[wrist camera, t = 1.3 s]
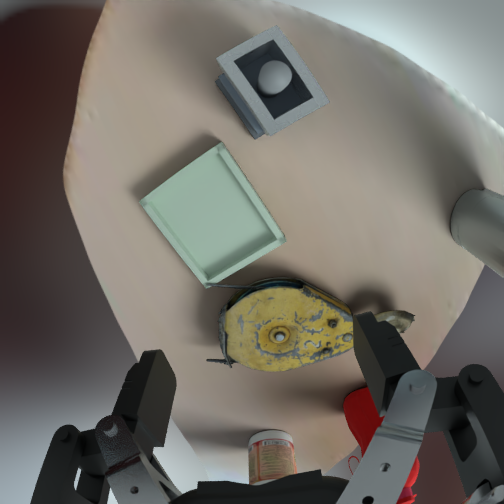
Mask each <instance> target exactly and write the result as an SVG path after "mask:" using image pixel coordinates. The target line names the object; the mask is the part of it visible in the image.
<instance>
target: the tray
mask: <svg viewBox="0 0 504 504" xmlns="http://www.w3.org/2000/svg"><path fill="white" fill-rule="evenodd" d="M139 202H140V204H141V205H142V207H143V208H144V209H145V211H146V212H147V213H148V215H149V216H150V217H151V219H152V220H153V221H154V223H155V224H156V225H157V227H158V228H159V229H160V231H161V232H162V233H163V234H164V236H165V237H166V238H167V240H168V241H169V242H170V244H171V245H172V246H173V247H174V249H175V250H176V251H177V253H178V254H179V255H180V256H181V258H182V259H183V260H184V261H185V263H186V264H187V265H188V267H189V268H190V269H191V270H192V272H193V273H194V274H195V275H196V276H197V278H198V279H199V280H200V281H201V283H202V284H203V285H204V286H205V288H206V289H207V288H209V287H211V286H207V285H208V284H216V283H218V282H219V281H221V280H223V279H224V278H226V277H228V276H229V275H231V274H233V273H234V272H236V271H238V270H239V269H241V268H243V267H245V266H246V265H248V264H250V263H251V262H253V261H255V260H256V259H258V258H260V257H261V256H263V255H265V254H266V253H268V252H270V251H271V250H273V249H275V248H276V247H278V246H280V245H282V244H283V243H285V242H287V241H286V238H285V235H284V234H283V232H282V231H281V229H280V228H279V226H278V225H277V223H276V221H275V220H274V218H273V217H272V215H271V214H270V212H269V211H268V209H267V208H266V206H265V205H264V203H263V202H262V200H261V199H260V197H259V196H258V194H257V192H256V191H255V189H254V188H253V186H252V185H251V183H250V182H249V180H248V179H247V177H246V176H245V175H244V173H243V172H242V170H241V169H240V167H239V166H238V164H237V163H236V161H235V160H234V158H233V157H232V155H231V154H230V152H229V151H228V149H227V148H226V147H225V145H224V144H223V142H221V143H219V144H218V145H216V146H215V147H213V148H212V149H210V150H209V151H207V152H206V153H204V154H203V155H201V156H200V157H198V158H197V159H196V160H194V161H193V162H191V163H190V164H189V165H187V166H186V167H184V168H183V169H182V170H180V171H179V172H177V173H176V174H175V175H173V176H172V177H171V178H169V179H168V180H167V181H165V182H164V183H163V184H161V185H160V186H159V187H157V188H156V189H155V190H153V191H152V192H151V193H149V194H148V195H147V196H146V197H144V198H143V199H142V200H140V201H139Z"/></svg>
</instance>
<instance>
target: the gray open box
mask: <svg viewBox="0 0 504 504" xmlns="http://www.w3.org/2000/svg"><path fill="white" fill-rule="evenodd" d="M268 53H269V54H270V56H271V57H272V58H273V60H274V61H281V62H283V63H285V64H286V65H287V66H288V67H289V68H290V70H291V73H292V78H291V81H290V84H291V86H292V87H293V89H294V90H295V92H296V93H297V95H298V96H299V98H300V99H301V101H302V103H300V104H298V105H296V106H295V107H293V108H291V109H289V110H288V111H286V112H284V113H282V114H281V115H279V116H277V117H276V118H274V119H273V117H272V116H271V114H270V113H269V111H268V110H267V108H266V107H265V105H264V104H263V102H262V101H261V99H260V98H259V96H258V95H257V93H256V92H255V91H254V89H253V88H252V86H251V85H250V83H249V82H248V81H247V79H246V78H245V76H244V75H243V74H242V72H241V71H240V70H239V69H241V68H243V67H244V66H246V65H248V64H250V63H251V62H253V61H255V60H257V59H259V58H260V57H262V56H264V55H266V54H268ZM216 60H217V62H218V65H219V67H220V69H221V71H222V72H223V74H224V75H225V76H226V78H227V79H228V80H229V82H230V83H231V85H232V86H233V87H234V89H235V90H236V92H237V93H238V94H239V96H240V97H241V99H242V100H243V102H244V103H245V105H246V106H247V107H248V109H249V110H250V112H251V113H252V115H253V116H254V118H255V119H256V121H257V122H258V124H259V125H260V127H261V128H262V130H263V131H264V133H265V134H266V135H268V136H272V135H273V134H275V133H277V132H278V131H280V130H282V129H284V128H285V127H287V126H289V125H290V124H292V123H294V122H295V121H297V120H299V119H301V118H302V117H304V116H306V115H308V114H310V113H311V112H313V111H315V110H317V109H319V108H320V107H322V106H324V105H326V104H328V103H330V101H329V100H328V98H327V97H326V95H325V93H324V92H323V90H322V89H321V87H320V85H319V84H318V82H317V81H316V79H315V78H314V76H313V75H312V73H311V72H310V70H309V69H308V67H307V66H306V64H305V63H304V61H303V60H302V59H301V57H300V56H299V54H298V53H297V51H296V50H295V49H294V47H293V46H292V45H291V43H290V42H289V40H288V39H287V38H286V36H285V35H284V34H283V32H282V31H281V30H280V29H279V27H278V26H277V25H276V26H274V27H272V28H270V29H268V30H266V31H264V32H262V33H260V34H258V35H256V36H254V37H252V38H250V39H249V40H247V41H245V42H243V43H241V44H239V45H238V46H236V47H234V48H232V49H231V50H229V51H227V52H226V53H224V54H222V55H221V56H219V57H217V58H216Z"/></svg>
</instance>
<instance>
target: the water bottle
mask: <svg viewBox="0 0 504 504" xmlns="http://www.w3.org/2000/svg"><path fill="white" fill-rule="evenodd" d="M343 408H344V413H345V417H346V420H347V423H348V426H349V429H350V430H351V432H352V434H353V435H354V437H355V439H356V440H357V442H358V443H359V445H360V447H361V451H362V458H363V456H364V454H365V452H366V450H367V448H368V446H369V444H370V442H371V440H372V438H373V436H374V434H375V432H376V430H377V428H378V427H379V426H381V424H382V422H383V419H384V417H385V416H382V417H379V414H378V412H377V409H376V406H375V404H374V401H373V399H372V396H371V393H370V391H369V388H368V387H366V388H363V389H359V390H356V391H354V392H351V393H350V394H349V395H348V396H347V397H346V398H345V400H344V404H343ZM351 457H355V456H351ZM351 457H350V458H351ZM350 458H349V459H350ZM355 458H356V459H357V457H355ZM357 460H358V459H357ZM358 461H359V460H358ZM348 462H349V461H348ZM349 467H350V466H349ZM418 471H419V462H418V458H417V456H416V458H415V461H414V464H413V466H412V469H411V471H410V473H409V476H408V478H407V480H406V483H405V485H404V487H403V489H402V492H401V494H400V496H399V498H398V500H397V502H396V504H411V503H412V502H414V497H415V496H416V495H413V494H412V490H411V488H410V487H411V486H412V485H413V484H414V482H415V481H416V478H417V475H418ZM352 475H353V474H352Z"/></svg>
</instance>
